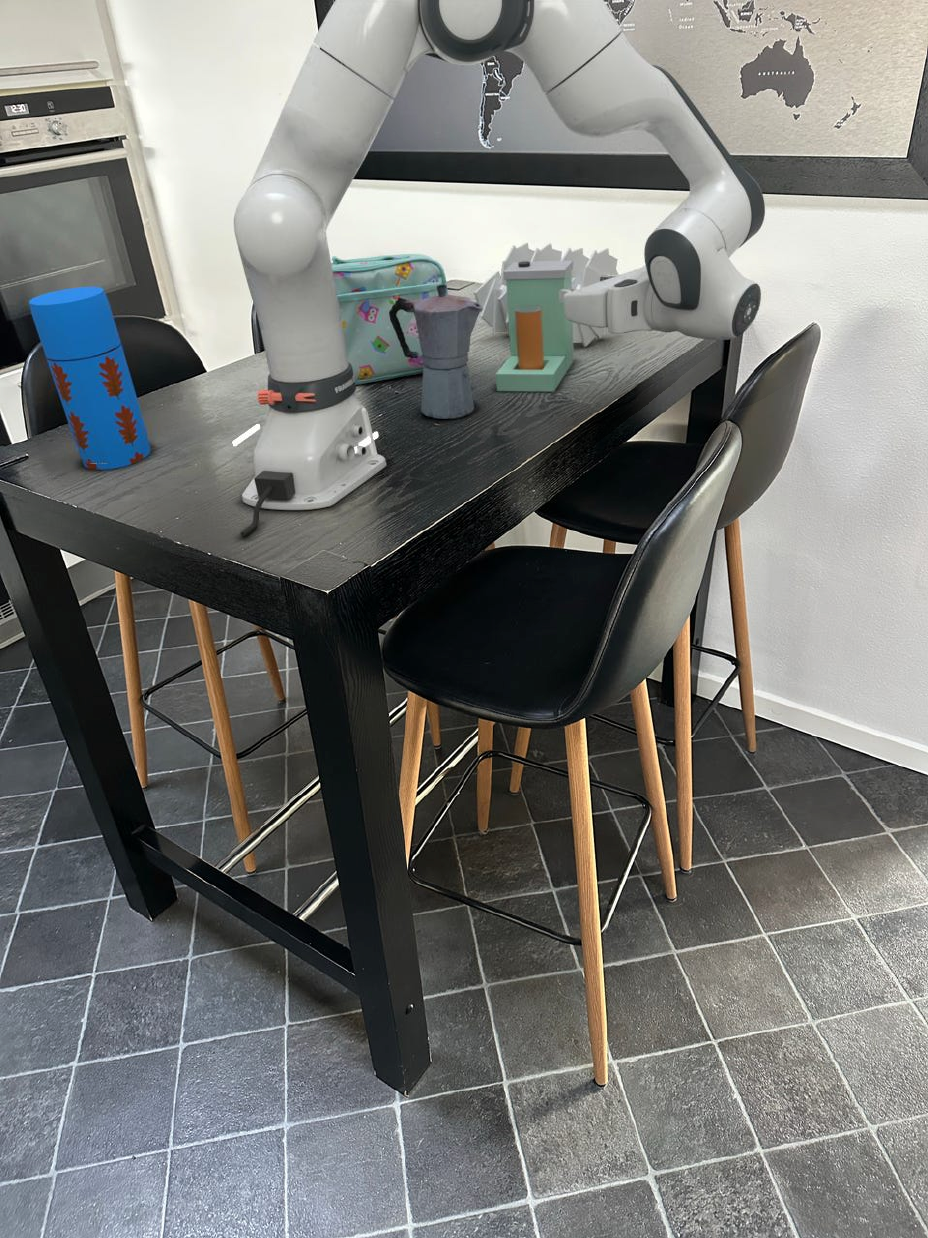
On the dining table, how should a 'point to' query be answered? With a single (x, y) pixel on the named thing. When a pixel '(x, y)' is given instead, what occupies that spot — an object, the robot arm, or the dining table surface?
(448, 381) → the moka pot
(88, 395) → the thermos
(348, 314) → the lunch box
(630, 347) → the dining table surface
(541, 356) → the orange silver-capped cylinder
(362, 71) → the robot arm
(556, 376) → the square frame
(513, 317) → the pet feeder tower
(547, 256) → the spiral staircase
